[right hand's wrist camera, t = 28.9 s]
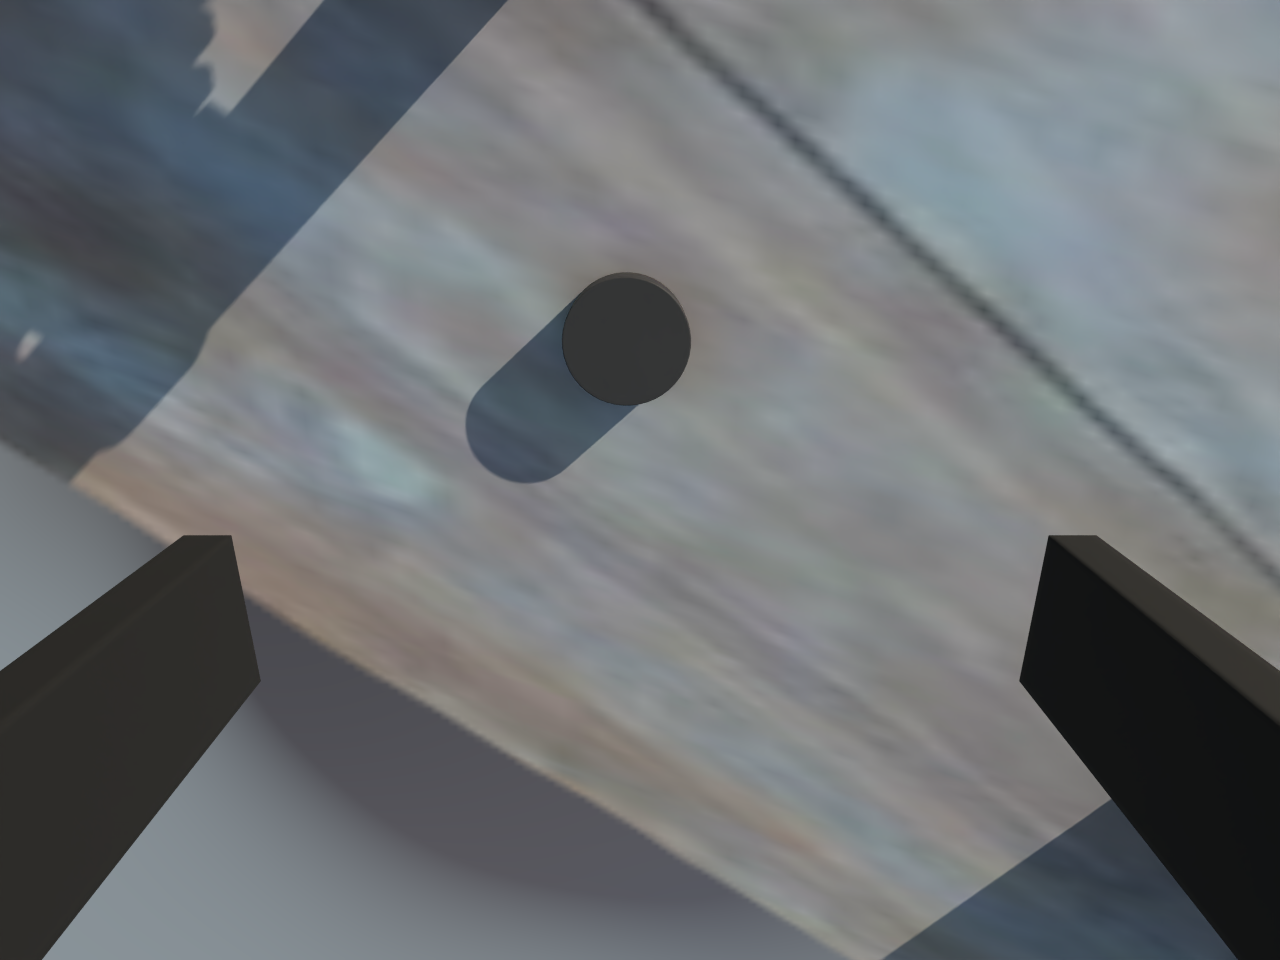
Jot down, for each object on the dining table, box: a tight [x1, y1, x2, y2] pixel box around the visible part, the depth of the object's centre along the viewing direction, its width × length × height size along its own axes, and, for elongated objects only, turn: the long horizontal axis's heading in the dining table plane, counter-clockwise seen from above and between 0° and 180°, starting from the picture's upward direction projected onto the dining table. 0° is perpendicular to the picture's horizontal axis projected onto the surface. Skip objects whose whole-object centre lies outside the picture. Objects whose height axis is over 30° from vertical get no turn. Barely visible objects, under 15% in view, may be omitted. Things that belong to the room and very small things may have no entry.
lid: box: [562, 273, 691, 405], centre depth 33 cm, size 5×5×2 cm
